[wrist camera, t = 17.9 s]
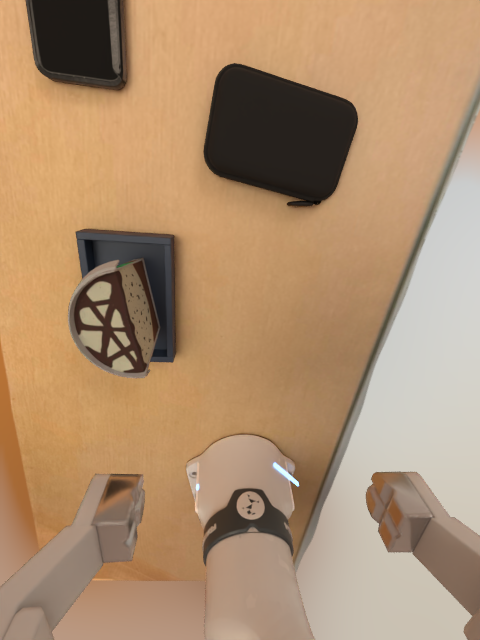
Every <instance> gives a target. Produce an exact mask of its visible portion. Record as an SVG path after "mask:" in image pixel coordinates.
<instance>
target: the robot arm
mask: <svg viewBox="0 0 480 640" xmlns="http://www.w3.org/2000/svg"><path fill="white" fill-rule="evenodd" d="M294 471H295V463H294V462H293V461H292V460H291V459H289V458H287V457H285V456H284V455H283V454H282V453H281V452H280V451H279V449H278V448H277V447H276V446H275V445H274V444H273V443H272V442H270V441H269V440H267V439H264V438H262V437H259V436H254V435H234V436H230V437H226V438H223V439H221V440H219V441H217V442H215V443H214V444H212V445H211V446H210V447H208V448H207V449H206V451H205V452H204V453H203V454H201V455H200V456H198V457H196V458H194V459H192V460H190V461H188V462H187V464H186V472H187V475H188V479H189V482H190V486H191V490H192V493H193V497H194V500H195V512H196V513H198V517H199V520H200V523H201V525H202V527H203V530H204V538H203V560H204V564H205V566H206V585H205V619H204V623H205V624H204V635H205V640H315V639H314V636H313V634H312V631H311V628H310V625H309V622H308V619H307V616H306V613H305V609H304V606H303V602H302V598H301V594H300V591H299V587H298V582H297V579H296V574H295V569H294V565H293V560H292V556H293V544H292V542H293V539H292V534H291V530H290V527H289V523H288V519H289V518H290V516H291V514H292V511H294V501H293V495H292V490H291V484H290V480H291V481H292V482H293V483H294V484H295V485H297V486H299V483H298V481H296V480H295V479H294V478H293V477H292V475H293V473H294ZM371 480H372V482H373V484H372V485H371V486H370V487H368V489H367V492H366V503H367V507H368V510H369V512H370V514H371V517H372V518H373V519H374V520H375V521H377V522H378V523H379V528H378V532H379V534H380V536H381V538H382V540H383V542H384V544H385V546H386V548H387V550H388V552H413V555H414V556H415V557H416V558H417V559H418V560H419V561H420V562H421V563H422V564H423V565H424V566H425V567H426V568H427V569H428V570H429V571H430V572H431V573H432V575H433V576H434V577H435V578H436V579H437V580H438V581H439V582H440V583H441V584H442V585H443V586H444V587H445V588H446V589H447V590H448V591H449V592H450V593H451V594H452V595H453V596H454V597H455V598H456V599H457V600H458V601H459V603H460V604H461V605H462V606H463V607H464V608H465V609H466V610H467V611H468V612H469V613H470V614H471V615H472V618H471V619H470V620H469V622H468V623H467V624H466V626H465V627H464V634H465V635H466V637H467V639H468V640H480V536H479V535H478V534H477V533H475V532H474V531H472V530H471V529H470V528H468V527H467V526H466V525H464V524H463V523H462V522H460V521H459V520H457V519H456V518H454V517H450V516H449V515H448V513H447V512H446V510H445V509H444V508H443V506H442V505H441V503H440V502H439V501H438V499H437V498H436V496H435V495H434V494H433V492H432V491H431V490H430V488H429V487H428V485H427V484H426V482H425V481H424V480H423V478H422V477H421V476H420V475H419V474H418V473H417V472H376V473H374V474H373V476H372V478H371ZM143 482H144V480H143V475H142V474H95V475H94V477H93V478H92V479H91V482H90V484H89V486H88V489H87V491H86V493H85V495H84V498H83V500H82V502H81V505H80V507H79V509H78V511H77V514H76V516H75V518H74V520H73V523H72V525H71V526H66V527H65V528H63V529H62V530H61V531H60V532H59V533H58V534H57V535H56V536H55V537H54V538H53V539H52V540H50V541H49V542H48V543H47V544H46V545H45V546H44V547H43V548H42V549H41V550H40V551H39V552H37V553H36V554H35V555H34V556H33V557H32V558H31V559H30V560H29V561H28V562H27V563H26V564H24V565H23V566H22V567H21V568H20V569H19V570H18V571H17V572H16V573H15V574H14V575H12V576H11V577H10V578H9V579H8V580H7V581H6V582H5V583H4V584H3V585H2V586H1V587H0V640H54V638H53V635H52V631H53V630H54V628H55V627H56V626H57V624H58V623H59V622H60V620H61V619H62V618H63V617H64V615H65V614H66V613H67V611H68V610H69V609H70V607H71V606H72V605H73V603H74V602H75V601H76V599H77V598H78V597H79V596H80V594H81V593H82V592H83V590H84V589H85V588H86V586H87V585H88V584H89V583H90V581H91V580H92V579H93V577H94V576H95V575H96V573H97V572H98V571H99V570H100V568H101V567H102V566H103V563H107V562H123V561H132V558H133V554H134V550H135V546H136V542H137V526H138V525H139V524H140V523H141V520H142V515H143V510H144V503H145V491H144V490H143V489H142V486H143Z"/></svg>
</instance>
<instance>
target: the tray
mask: <svg viewBox="0 0 480 640" xmlns="http://www.w3.org/2000/svg"><path fill="white" fill-rule="evenodd" d="M76 238H77V245H78V252H79V259H80V266H81V273H82V279H83V278H84V277H85V276H86V275H87V274H88V273H89V272H90V271H91V270H93V269H95V268H96V267H98V266H100V265H102V264H105V263H107V262H111V261H115V260H119V263H118V265H117V266H119V265H122V264H124V263H127V262H129V261H132V260H134V259H139V258H143V259H144V263H145V267H146V271H147V275H148V279H149V283H150V287H151V291H152V296H153V300H154V304H155V308H156V312H157V316H158V320H159V324H160V330H159V334H158V337H157V340H156V344H155V347H154V350H153V353H152V357H151V360H150V362H173V361H174V357H175V354H176V338H175V267H174V235H168V234H153V233H138V232H124V231H109V230H95V229H83V230H80V231H77V232H76Z"/></svg>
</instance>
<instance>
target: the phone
mask: <svg viewBox="0 0 480 640" xmlns="http://www.w3.org/2000/svg"><path fill="white" fill-rule="evenodd" d="M26 5H27V12H28V20H29V27H30V34H31V41H32V48H33V55H34V61H35V64H36V66H37V68H38V70H39V71H40V72H41V73H42V74H43V75H45V76H46V77H48V78H49V79H51V80H53V81H56V82H63V83H70V84H77V85H84V86H91V87H98V88H105V89H112V90H119V89H121V88H123V86H124V85H125V83H126V78H127V74H126V51H125V28H124V5H123V0H26Z"/></svg>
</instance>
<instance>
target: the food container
mask: <svg viewBox="0 0 480 640" xmlns="http://www.w3.org/2000/svg"><path fill="white" fill-rule="evenodd" d="M118 263H119V260H115V261H111V262H107V263H105V264H102V265H100V266H98V267H96V268H95V269H93V270H91V271H90V272H89V273H88V274H87V275H86V276H85V277H84V278H83V279H82V280H81V282H80V283H79V284H78V286H77V288H76V289H75V291H74V293H73V295H72V297H71V300H70V304H69V309H68V324H69V330H70V333H71V336H72V338H73V340H74V342H75V345H76V346H77V347H78V349H79V350H80V352H81V353H82V354H83V355H84V356H85V357H86V358H87V359H88V360H89V361H90V362H92V363H93V364H94V365H96V366H97V367H99V368H100V369H102V370H104V371H106V372H109V373H111V374H114V375H117V376H121V377H127V378H145V376H147V375H148V373H149V372H150V370H148V367H149V363H150V360H151V357H152V353H153V350H154V347H155V344H156V340H157V337H158V334H159V330H160V324H159V320H158V316H157V312H156V308H155V304H154V300H153V296H152V291H151V287H150V283H149V279H148V275H147V271H146V267H145V263H144V259H143V258H139V259H134V260H132V261H129V262H127V263H124V264H122V265H119V266H117V265H118Z"/></svg>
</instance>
